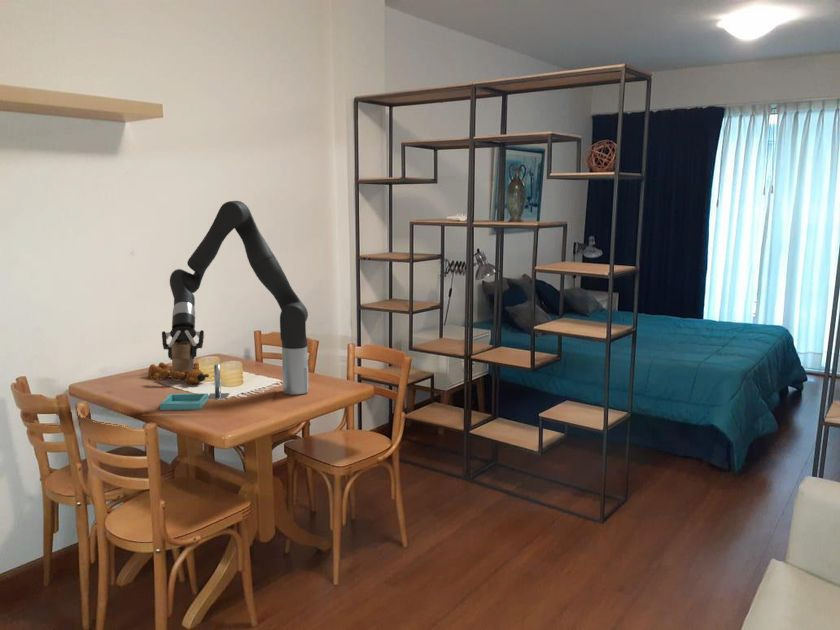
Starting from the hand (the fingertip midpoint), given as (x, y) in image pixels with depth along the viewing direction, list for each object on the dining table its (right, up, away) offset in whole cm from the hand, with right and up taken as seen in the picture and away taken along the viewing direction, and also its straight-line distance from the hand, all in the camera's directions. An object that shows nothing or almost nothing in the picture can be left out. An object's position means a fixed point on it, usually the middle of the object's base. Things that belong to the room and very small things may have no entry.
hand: (182, 357), depth 220 cm
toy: (-15, -12, +37) cm, 42 cm away
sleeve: (-1, -4, +2) cm, 5 cm away
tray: (-1, -17, +4) cm, 17 cm away
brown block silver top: (+7, -15, +15) cm, 23 cm away
